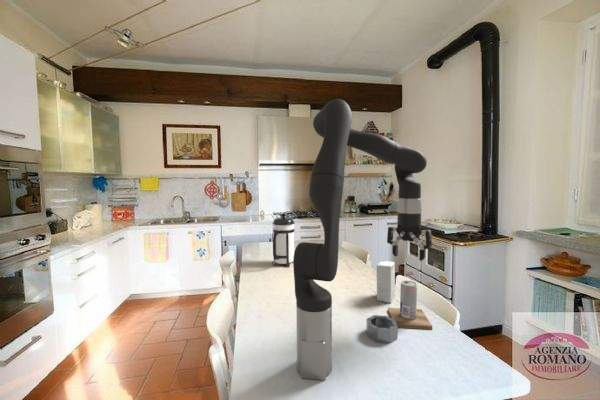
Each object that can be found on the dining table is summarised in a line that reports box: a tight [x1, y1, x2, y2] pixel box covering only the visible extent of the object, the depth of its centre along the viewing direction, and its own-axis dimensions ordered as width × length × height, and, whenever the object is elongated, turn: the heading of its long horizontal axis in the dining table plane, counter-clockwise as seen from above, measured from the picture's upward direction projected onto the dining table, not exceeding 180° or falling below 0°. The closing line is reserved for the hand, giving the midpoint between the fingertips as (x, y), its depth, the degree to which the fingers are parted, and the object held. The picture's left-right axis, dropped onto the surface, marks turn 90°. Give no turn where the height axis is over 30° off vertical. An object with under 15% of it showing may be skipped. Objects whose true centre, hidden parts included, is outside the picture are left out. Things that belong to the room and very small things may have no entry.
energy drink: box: [399, 280, 418, 320], centre depth 98 cm, size 5×5×12 cm
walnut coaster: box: [387, 307, 433, 330], centre depth 98 cm, size 12×12×1 cm
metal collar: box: [365, 314, 399, 344], centre depth 89 cm, size 9×9×4 cm
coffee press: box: [271, 213, 295, 268], centre depth 162 cm, size 17×16×30 cm
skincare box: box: [376, 260, 396, 304], centre depth 115 cm, size 8×6×15 cm
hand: (408, 258), depth 96 cm, fingers open, 8 cm apart
